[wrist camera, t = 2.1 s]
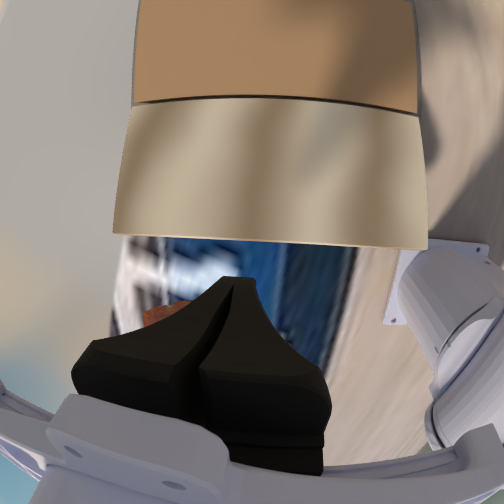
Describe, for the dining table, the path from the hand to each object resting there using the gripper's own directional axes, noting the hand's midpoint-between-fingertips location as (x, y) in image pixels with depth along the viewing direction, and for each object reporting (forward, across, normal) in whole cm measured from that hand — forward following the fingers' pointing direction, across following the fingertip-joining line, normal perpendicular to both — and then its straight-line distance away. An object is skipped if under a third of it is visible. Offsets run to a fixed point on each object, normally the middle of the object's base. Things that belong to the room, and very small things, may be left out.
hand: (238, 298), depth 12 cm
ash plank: (+7, -1, -4) cm, 8 cm away
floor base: (+10, -1, -9) cm, 13 cm away
